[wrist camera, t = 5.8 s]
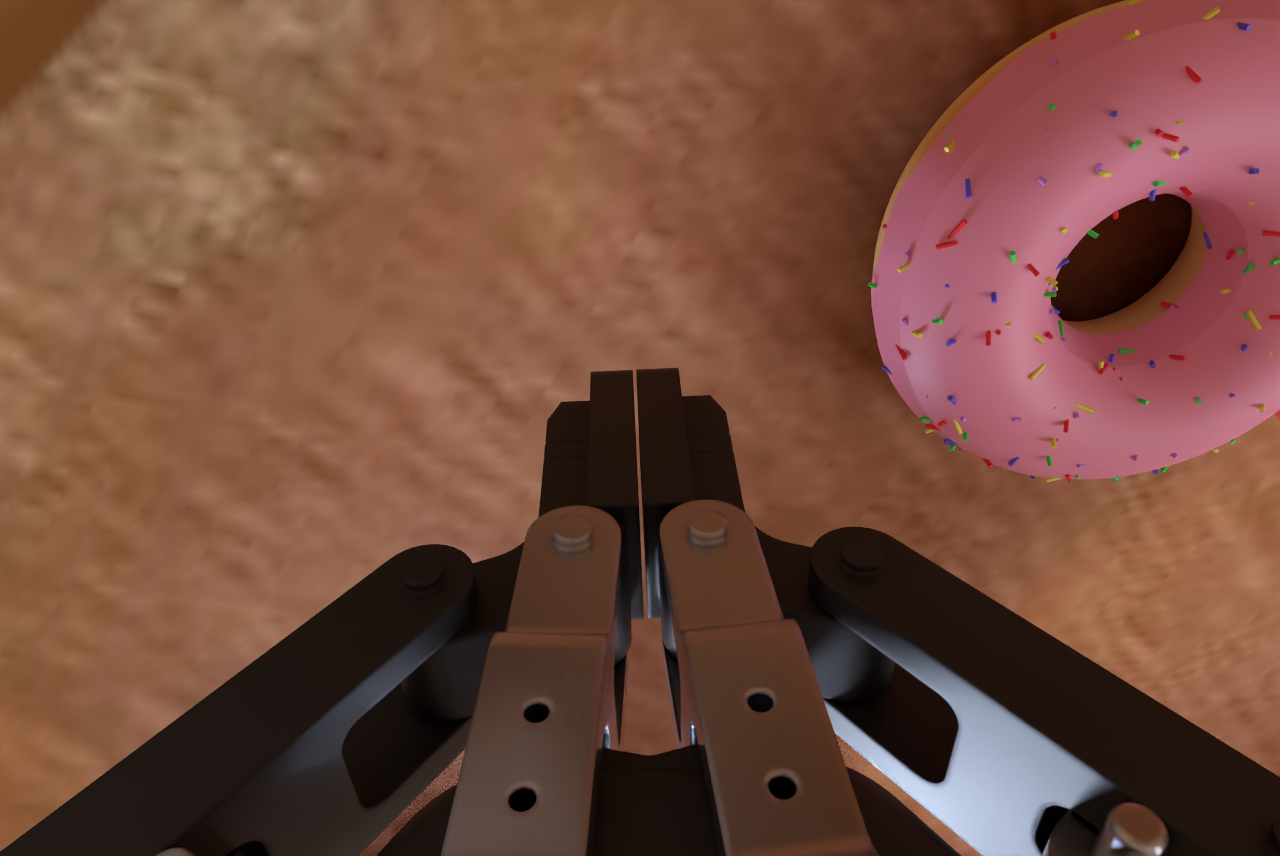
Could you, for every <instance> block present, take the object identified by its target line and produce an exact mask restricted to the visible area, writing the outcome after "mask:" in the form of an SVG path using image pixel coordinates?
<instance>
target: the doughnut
mask: <svg viewBox="0 0 1280 856" xmlns="http://www.w3.org/2000/svg"><path fill="white" fill-rule="evenodd" d="M1164 193H1169V194H1173V195H1175V196H1178V197H1180V198H1182V199H1184V200H1186V201H1187V202H1189V203H1190V205H1191V210H1192V221H1191V228H1190V232H1189V236H1188V239H1187V241H1186V244H1185V246H1184V248H1183V250H1182V252H1181V254H1180V256H1179V257H1178V259H1177V261H1176V262H1175V264H1174V265H1173V266H1172V268H1171V269H1170V270H1169V272H1168V273H1167V274H1166V275H1165V276H1164V277H1163V279H1162V280H1161V281H1160V282H1159V283H1158V284H1157V285H1156V286H1154V287H1153V288H1152V289H1151V290H1150V291H1149V292H1148V293H1146V294H1145V295H1144V296H1142V297H1141V298H1140V299H1138V300H1137V301H1135V302H1134V303H1132V304H1130V305H1129V306H1127V307H1125V308H1123V309H1121V310H1119V311H1117V312H1115V313H1112V314H1110V315H1107V316H1104V317H1101V318H1098V319H1093V320H1088V321H1077V322H1075V321H1065V320H1062V319H1061V318H1060V317H1059V316H1058V314H1060V311H1059V310H1057V309H1054V308H1055V307H1053V306H1052V304H1051V297H1056V291H1057V290H1058V287H1057V286H1056V285H1057V283H1058V282H1057V281H1056V277H1057V275H1058V272H1059V270H1060V268H1061V267H1062V266H1063V265H1065V264H1067V263H1068V262H1070V261H1069V260H1068V258H1067V256H1068V255H1069V254H1070V252H1071V251H1072V249H1073V248H1074V247H1075V246H1076V245H1077V244H1078V242H1079V241H1080V240H1081V239H1082V238H1083V237H1084V236H1085V235H1086V234H1089V235H1090V236H1092V237H1093V238H1095V239H1096V238H1097V237H1098V236H1099V234H1098V233H1096V232H1094V231H1093V230H1091V229H1092V228H1093V227H1095V226H1096V225H1097V224H1098V223H1100V222H1101V221H1102V220H1103V219H1105V218H1106V217H1108V216H1109V215H1111V214H1112V213H1113V219H1117V218H1118V210H1119V209H1121V208H1123V207H1125V206H1127V205H1129V204H1131V203H1134V202H1136V201H1138V200H1141V199H1144V198H1147V197H1149V201H1154V200H1155V195H1159V194H1164ZM868 286H869V287H871V305H872V312H873V320H874V326H875V332H876V337H877V342H878V346H879V350H880V354H881V357H882V360H883V363H884V365H883V367H882V368H881V369H883V370H884V371H886V372H887V373H888V375H889V377H890V379H891V381H892V383H893V385H894V386H895V388H896V390H897V391H898V393H899V394H900V396H901V397H902V399H903V400H904V401H905V403H906V404H907V405H908V406H909V408H910V409H911V410H912V411H913V412H914V414H915V415H916V416H917V417H918V418H919V419H920V421H921V422H923V423H925V424H926V428H929V429H926V430H925V433H926V434H928V433H930V432H933V431H935V432H936V433H938V434H939V435H940V436H942V437H943V438H944V439H945V440H944V443H945V444H950V445H951V447H950V449H949V450H950V451H954V449H955V447H956V446H957V448H958V449H959V450H961V449H963V450H965V451H967V452H969V453H971V454H972V455H974V456H976V457H978V458H980V459H982V460H984V462H985V463H986V464H987V465H988V467H989V468H992V467H993V465H995V466H998V467H1001V468H1004V469H1007V470H1010V471H1014V472H1018V473H1022V474H1027V475H1030V477H1031V478H1034V477H1035V476H1037V477H1044V478H1045V481H1046V483H1047V482H1051V481H1054V480H1058V479H1068V481H1072V480H1073V479H1079V480H1087V479H1105V478H1113V479H1114V480H1115V481H1119V480H1120V478H1118V477H1123V476H1129V475H1134V474H1140V473H1144V472H1148V471H1153V473H1154V474H1157V473H1158V470H1157V469H1160V468H1162V469H1161V472H1162V473H1165V472H1166V470H1167V469H1168V467H1169V466H1170V465H1173V464H1176V463H1180V462H1182V461H1185V460H1188V459H1191V458H1193V457H1196V456H1198V455H1201V454H1203V453H1205V452H1208V451H1210V450H1212V451H1214V452H1215V453H1218V452H1219V449H1217V447H1219V446H1221V445H1223V444H1225V443H1227V442H1229V441H1230V442H1231V443H1232V444H1234V443H1235V442H1236V441H1235V440H1234V439H1235V438H1236V437H1238V436H1240V435H1242V434H1243V433H1245V432H1247V431H1249V430H1250V429H1252V428H1253V427H1255V426H1257V425H1258V424H1260V423H1261V422H1263V421H1264V420H1266V419H1267V418H1269V417H1270V416H1272V415H1273V414H1275V413H1276V416H1277V418H1278V420H1280V0H1125V1H1121V2H1117V3H1113V4H1110V5H1107V6H1104V7H1101V8H1098V9H1095V10H1092V11H1089V12H1086V13H1084V14H1081V15H1079V16H1076V17H1074V18H1072V19H1070V20H1067V21H1065V22H1063V23H1061V24H1059V25H1057V26H1055V27H1053V28H1051V29H1049V30H1047V31H1045V32H1043V33H1042V34H1040V35H1038V36H1036V37H1035V38H1033V39H1031V40H1030V41H1028V42H1026V43H1025V44H1023V45H1022V46H1020V47H1018V48H1017V49H1015V50H1014V51H1012V52H1011V53H1010V54H1008V55H1007V56H1005V57H1004V58H1003V59H1001V60H1000V61H999V62H997V63H996V64H995V65H993V66H992V67H991V68H990V69H988V70H987V71H986V72H985V73H983V74H982V75H981V76H980V77H979V78H978V79H976V80H975V81H974V82H973V83H972V84H971V85H970V86H969V87H968V88H967V89H966V90H965V91H964V92H963V93H962V94H961V95H960V96H959V97H958V98H957V99H956V100H955V101H954V102H953V103H952V104H951V105H950V106H949V107H948V108H947V109H946V111H945V112H944V113H943V114H942V115H941V116H940V118H939V119H938V120H937V121H936V122H935V124H934V125H933V126H932V127H931V129H930V130H929V131H928V133H927V134H926V136H925V137H924V138H923V140H922V141H921V143H920V144H919V146H918V147H917V149H916V150H915V152H914V153H913V155H912V157H911V158H910V160H909V162H908V163H907V165H906V167H905V169H904V170H903V172H902V174H901V176H900V178H899V180H898V182H897V184H896V187H895V189H894V191H893V193H892V196H891V198H890V201H889V203H888V206H887V208H886V211H885V214H884V217H883V220H882V224H881V227H880V231H879V235H878V239H877V244H876V249H875V256H874V264H873V279H872V282H869V283H868Z"/></svg>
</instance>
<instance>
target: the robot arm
mask: <svg viewBox="0 0 1280 856" xmlns="http://www.w3.org/2000/svg"><path fill="white" fill-rule="evenodd" d="M636 372H637V398H638V422H639V447H640V469H641V489H642V509H643V529H644V548H645V568H646V587H647V607H648V618H659V617H661V624H662V640H663V664H664V670H665V676H666V683H667V689H668V695H669V701H670V707H671V714H672V720H673V726H674V732H675V738H676V745H677V749H676V750H672V751H669V752H665V753H662V754H658V755H651V756H646V755H639V754H634V753H629V752H623V739H624V724H625V709H626V695H627V680H628V665H629V661H628V650H629V648H630V645H631V638H632V635H631V619H642V618H644V613H643V589H642V566H641V543H640V520H639V497H638V476H637V454H636V432H635V411H634V389H633V370H622V371H599V372H591V383H590V401H573V402H561V403H560V405H559V406H558V407H557V408H556V410H555V411H554V412H553V414H552V415H551V416H550V418H549V419H548V421H547V432H546V444H545V453H544V464H543V475H542V486H541V497H540V508H539V518H538V519H537V520H535V521H534V522H533V524H532V525H531V526H530V528H529V529H528V531H527V534H526V537H525V541H524V542H523V543H522V544H521V545H519V546H518V547H516V548H515V549H513V550H511V551H509V552H507V553H505V554H502V555H499V556H497V557H493V558H490V559H486V560H483V561H480V562H476V563H472V562H471V560H470V558H469V557H468V556H467V555H466V554H465V553H464V552H462V551H461V550H459V549H456V548H454V547H451V546H447V545H440V544H429V545H421V546H417V547H413V548H410V549H408V550H405V551H403V552H401V553H399V554H397V555H395V556H394V557H392V558H391V559H389V560H388V561H387V562H385V563H384V564H383V565H381V566H380V567H379V568H377V569H376V570H375V571H373V572H372V573H371V574H369V575H368V576H367V577H365V578H364V579H363V580H361V581H360V582H359V583H357V584H356V585H355V586H353V587H352V588H351V589H349V590H348V591H347V592H345V593H344V594H343V595H341V596H340V597H339V598H338V599H336V600H335V601H334V602H332V603H331V604H330V605H328V606H327V607H326V608H324V609H323V610H322V611H320V612H319V613H318V614H316V615H315V616H314V617H312V618H311V619H310V620H308V621H307V622H306V623H304V624H303V625H302V626H300V627H299V628H298V629H296V630H295V631H294V632H292V633H291V634H290V635H288V636H287V637H286V638H284V639H283V640H282V641H280V642H279V643H278V644H276V645H275V646H274V647H272V648H271V649H270V650H268V651H267V652H266V653H264V654H263V655H262V656H260V657H259V658H258V659H256V660H255V661H254V662H252V663H251V664H250V665H248V666H247V667H246V668H244V669H243V670H242V671H240V672H239V673H238V674H236V675H235V676H234V677H232V678H231V679H230V680H228V681H227V682H226V683H224V684H223V685H222V686H220V687H219V688H218V689H216V690H215V691H214V692H212V693H211V694H210V695H208V696H207V697H206V698H204V699H203V700H202V701H200V702H199V703H198V704H196V705H195V706H194V707H192V708H191V709H190V710H188V711H187V712H186V713H184V714H183V715H182V716H180V717H179V718H178V719H176V720H175V721H174V722H172V723H171V724H170V725H168V726H167V727H166V728H164V729H163V730H162V731H160V732H159V733H158V734H156V735H155V736H154V737H153V738H151V739H150V740H149V741H147V742H146V743H145V744H143V745H142V746H141V747H139V748H138V749H137V750H135V751H134V752H133V753H131V754H130V755H129V756H127V757H126V758H125V759H123V760H122V761H121V762H119V763H118V764H117V765H115V766H114V767H113V768H111V769H110V770H109V771H107V772H106V773H105V774H103V775H102V776H101V777H99V778H98V779H97V780H95V781H94V782H93V783H91V784H90V785H89V786H87V787H86V788H85V789H83V790H82V791H81V792H79V793H78V794H77V795H75V796H74V797H73V798H71V799H70V800H69V801H67V802H66V803H65V804H63V805H62V806H61V807H59V808H58V809H57V810H55V811H54V812H53V813H51V814H50V815H49V816H47V817H46V818H45V819H43V820H42V821H41V822H39V823H38V824H37V825H35V826H34V827H33V828H31V829H30V830H29V831H27V832H26V833H25V834H23V835H22V836H21V837H19V838H18V839H17V840H15V841H14V842H13V843H11V844H10V845H9V846H7V847H6V848H5V849H3V850H2V851H1V852H0V856H358V855H359V854H360V853H361V852H362V851H363V850H364V849H365V848H366V847H367V846H368V845H369V844H370V843H371V842H372V841H373V840H374V839H375V838H376V837H377V836H378V835H379V834H380V833H381V832H382V831H383V830H384V829H385V828H386V827H387V826H388V825H389V824H390V823H391V822H392V821H393V820H394V819H395V818H396V817H397V816H398V815H399V814H400V813H401V812H402V811H403V810H404V809H405V808H406V807H407V806H408V805H409V804H410V803H411V802H412V801H413V800H414V799H415V798H416V797H417V796H418V795H419V794H420V793H421V792H422V791H423V790H424V789H425V788H426V787H427V786H428V785H429V784H430V783H431V782H432V781H433V780H434V779H435V778H436V777H437V776H438V775H439V774H440V773H441V772H442V771H443V770H444V769H445V768H446V767H447V766H448V765H449V764H450V763H451V762H452V761H453V760H454V759H455V758H456V757H457V756H458V755H459V754H460V753H461V752H462V751H463V750H464V749H465V748H466V749H465V753H464V757H463V762H462V766H461V770H460V775H459V779H458V783H457V785H455V786H453V787H451V788H450V789H448V790H446V791H445V792H443V793H442V794H440V795H439V796H437V797H436V798H435V799H433V800H432V801H430V802H429V803H428V804H427V805H426V806H425V807H423V808H422V809H421V810H420V811H419V812H417V813H416V814H415V815H414V816H413V817H412V818H411V819H410V820H409V821H408V822H407V823H406V824H405V826H404V827H403V828H402V829H401V830H400V831H399V832H398V833H397V834H396V835H395V836H394V837H393V838H392V840H391V841H390V842H389V843H388V844H387V845H386V846H385V847H384V848H383V849H382V850H381V851H380V852H379V853H378V855H377V856H961V855H960V854H959V853H957V852H956V851H955V850H954V849H953V848H952V847H951V846H950V845H948V844H947V843H946V842H945V841H944V840H943V839H942V838H941V837H940V836H938V835H937V834H936V833H935V832H934V831H933V830H932V829H931V828H929V827H928V826H927V825H926V824H925V823H924V822H923V821H922V820H921V819H919V818H918V817H917V816H916V815H915V814H914V813H913V812H912V811H910V810H909V809H908V808H907V807H906V806H905V805H904V804H903V803H902V802H900V801H899V800H898V799H897V798H896V797H895V796H893V795H892V794H891V793H890V792H889V791H887V790H886V789H884V788H883V787H882V786H880V785H879V784H877V783H876V782H874V781H873V780H871V779H870V778H868V777H866V776H864V775H862V774H861V773H859V772H857V771H855V770H853V769H851V768H848V767H846V766H845V763H844V760H843V757H842V754H841V751H840V748H839V745H838V741H837V738H836V735H835V733H836V734H837V735H838V736H839V737H840V738H842V739H843V740H844V741H845V742H846V743H848V744H849V745H850V746H851V747H852V748H854V749H855V750H856V751H857V752H858V753H860V754H861V755H862V756H863V757H865V758H866V759H867V760H868V761H869V762H871V763H872V764H873V765H874V766H875V767H877V768H878V769H879V770H880V771H881V772H883V773H884V774H885V775H886V776H887V777H889V778H890V779H891V780H892V781H893V782H895V783H896V784H897V785H898V786H899V787H901V788H902V789H903V790H904V791H906V792H907V793H908V794H909V795H910V796H912V797H913V798H914V799H915V800H916V801H918V802H919V803H920V804H921V805H922V806H924V807H925V808H926V809H927V810H928V811H930V812H931V813H932V814H933V815H934V816H936V817H937V818H938V819H939V820H940V821H942V822H943V823H944V824H945V825H946V826H948V827H949V828H950V829H951V830H953V831H954V832H955V833H956V834H957V835H959V836H960V837H961V838H962V839H963V840H965V841H966V842H967V843H968V844H969V845H971V846H972V847H973V848H974V849H975V850H977V851H978V852H979V853H980V854H981V855H983V856H1280V777H1278V776H1277V775H1275V774H1274V773H1272V772H1270V771H1269V770H1267V769H1266V768H1264V767H1262V766H1261V765H1259V764H1257V763H1256V762H1254V761H1253V760H1251V759H1249V758H1248V757H1246V756H1245V755H1243V754H1241V753H1240V752H1238V751H1237V750H1235V749H1233V748H1232V747H1230V746H1228V745H1227V744H1225V743H1224V742H1222V741H1220V740H1219V739H1217V738H1216V737H1214V736H1212V735H1211V734H1209V733H1207V732H1206V731H1204V730H1203V729H1201V728H1199V727H1198V726H1196V725H1195V724H1193V723H1191V722H1190V721H1188V720H1186V719H1185V718H1183V717H1182V716H1180V715H1178V714H1177V713H1175V712H1174V711H1172V710H1170V709H1169V708H1167V707H1166V706H1164V705H1162V704H1161V703H1159V702H1157V701H1156V700H1154V699H1153V698H1151V697H1149V696H1148V695H1146V694H1145V693H1143V692H1141V691H1140V690H1138V689H1136V688H1135V687H1133V686H1132V685H1130V684H1128V683H1127V682H1125V681H1124V680H1122V679H1120V678H1119V677H1117V676H1116V675H1114V674H1112V673H1111V672H1109V671H1107V670H1106V669H1104V668H1103V667H1101V666H1099V665H1098V664H1096V663H1095V662H1093V661H1091V660H1090V659H1088V658H1086V657H1085V656H1083V655H1082V654H1080V653H1078V652H1077V651H1075V650H1074V649H1072V648H1070V647H1069V646H1067V645H1066V644H1064V643H1062V642H1061V641H1059V640H1057V639H1056V638H1054V637H1053V636H1051V635H1049V634H1048V633H1046V632H1045V631H1043V630H1041V629H1040V628H1038V627H1036V626H1035V625H1033V624H1032V623H1030V622H1028V621H1027V620H1025V619H1024V618H1022V617H1020V616H1019V615H1017V614H1015V613H1014V612H1012V611H1011V610H1009V609H1007V608H1006V607H1004V606H1003V605H1001V604H999V603H998V602H996V601H995V600H993V599H991V598H990V597H988V596H986V595H985V594H983V593H982V592H980V591H978V590H977V589H975V588H974V587H972V586H970V585H969V584H967V583H965V582H964V581H962V580H961V579H959V578H957V577H956V576H954V575H953V574H951V573H949V572H948V571H946V570H945V569H943V568H941V567H940V566H938V565H936V564H935V563H933V562H932V561H930V560H928V559H927V558H925V557H924V556H922V555H920V554H919V553H917V552H915V551H914V550H912V549H911V548H909V547H907V546H906V545H904V544H903V543H901V542H899V541H898V540H896V539H894V538H893V537H891V536H889V535H887V534H885V533H883V532H880V531H877V530H874V529H870V528H864V527H844V528H839V529H835V530H832V531H830V532H828V533H826V534H824V535H823V536H821V537H820V538H819V539H818V540H817V541H816V543H815V544H814V546H813V547H807V546H802V545H797V544H792V543H788V542H784V541H780V540H778V539H775V538H773V537H771V536H769V535H767V534H765V533H763V532H762V531H760V530H759V529H758V528H757V527H756V526H754V524H753V521H752V520H751V518H750V517H749V516H748V515H747V514H746V513H745V509H744V505H743V500H742V495H741V489H740V484H739V479H738V474H737V469H736V463H735V458H734V453H733V449H732V442H731V437H730V434H729V427H728V421H727V416H726V412H725V411H724V410H723V409H722V408H721V406H720V405H719V404H718V403H717V402H716V401H715V400H714V399H713V398H712V397H711V396H710V395H705V396H682V393H681V385H680V377H679V370H678V368H664V369H641V370H636Z"/></svg>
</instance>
